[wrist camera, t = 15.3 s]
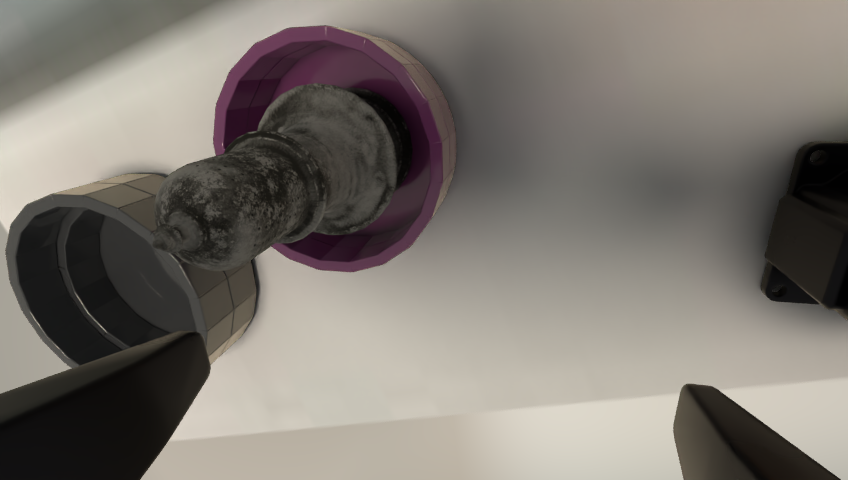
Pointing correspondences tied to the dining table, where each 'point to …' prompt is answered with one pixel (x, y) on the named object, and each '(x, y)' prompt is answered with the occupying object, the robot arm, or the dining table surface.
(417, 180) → the plum bowl
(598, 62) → the dining table surface
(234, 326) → the charcoal bowl
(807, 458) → the robot arm
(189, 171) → the salt shaker
